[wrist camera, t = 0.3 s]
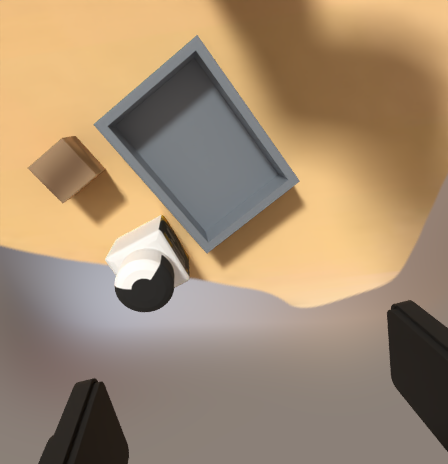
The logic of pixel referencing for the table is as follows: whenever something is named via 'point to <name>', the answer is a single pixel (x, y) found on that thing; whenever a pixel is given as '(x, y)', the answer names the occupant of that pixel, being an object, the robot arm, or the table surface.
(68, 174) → the walnut cube
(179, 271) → the medicine bottle
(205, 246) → the tote
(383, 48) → the table surface
